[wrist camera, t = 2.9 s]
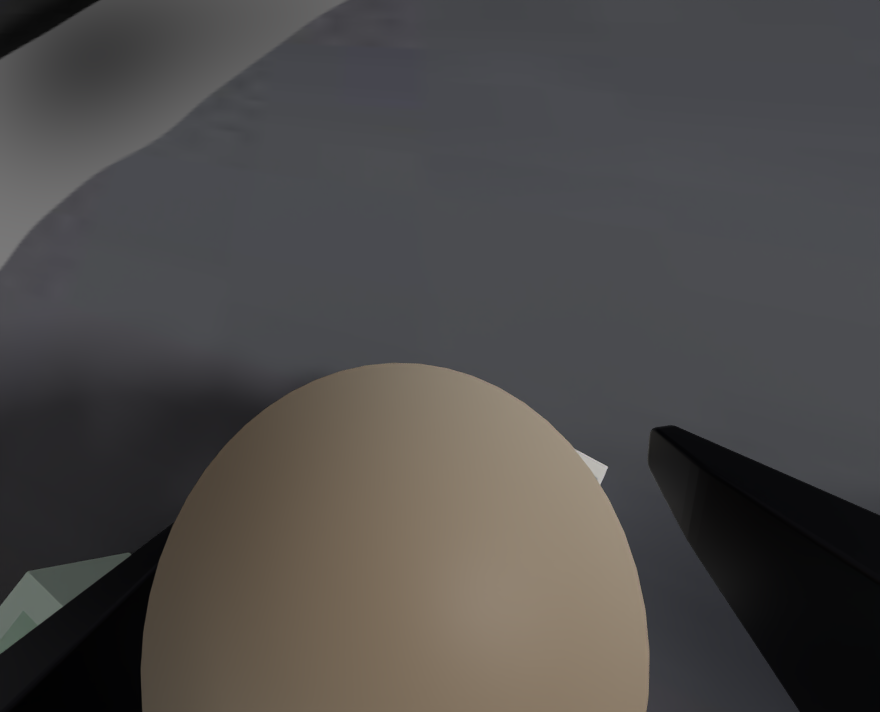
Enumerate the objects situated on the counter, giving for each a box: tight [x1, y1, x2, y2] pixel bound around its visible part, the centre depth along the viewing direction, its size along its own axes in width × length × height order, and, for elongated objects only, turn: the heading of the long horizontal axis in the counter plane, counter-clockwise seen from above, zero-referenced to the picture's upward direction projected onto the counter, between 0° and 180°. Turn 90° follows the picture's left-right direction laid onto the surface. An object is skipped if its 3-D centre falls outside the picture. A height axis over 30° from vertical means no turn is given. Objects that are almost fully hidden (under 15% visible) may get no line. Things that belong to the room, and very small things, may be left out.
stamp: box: [141, 363, 649, 712], centre depth 8 cm, size 5×5×12 cm
